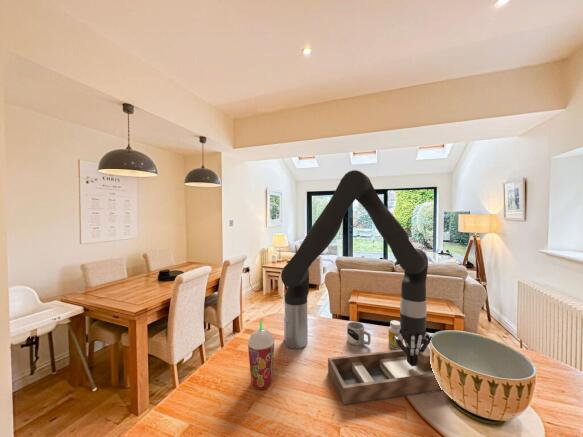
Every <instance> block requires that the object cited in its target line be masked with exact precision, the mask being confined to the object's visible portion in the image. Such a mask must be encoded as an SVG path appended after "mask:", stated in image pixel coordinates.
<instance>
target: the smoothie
mask: <svg viewBox="0 0 583 437" xmlns="http://www.w3.org/2000/svg"><path fill="white" fill-rule="evenodd" d="M275 340H276V339H275V337H274V336H273V334H272V333H271V331H269V330H268V329H266V328H263V321H262V320H260V321H259V328H257V329H255V330H254V331H253V332H252V333H251V334H250V337H249V339H248V340H247V349H248V361H249V373H250V381H251V384H252V385H253V387H254V388H255V389H256V388H257V390H265V389H267V388H269V387H270V386H271V384H272V382H273V378H274V361H275V360H274V357H275V356H274V355H275V353H274V352H275Z"/></svg>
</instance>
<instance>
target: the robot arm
mask: <svg viewBox="0 0 583 437" xmlns="http://www.w3.org/2000/svg"><path fill="white" fill-rule="evenodd" d="M355 201H357V202H358V203H359V205H361V206H362V208H364V210H365V211H366V213H367V214H368V216H369V217H370V219H371V221H372V223H373V225H374V227H375V228H376V230H377V231H378V233H379V234H380V236H381V237H382V239H383V240H384V241H385V243H386V244H387V245H388V247H389V248H390V250H391V253H392V255H393V256H394V258H395V261H396V262H397V264H398V265H399V267H400V268H401V269H402V270H403V271H404V273H403V274H404V275H403V276H404V277H403V279H402V282H401V286H400V287H401V289H400V290H401V292H400V294H401V295H400V302H399V322H400V325H401V329H400V331H399V333H400V334H399V335H398V336H397V337H396V336H393V339H394V341H395V342H396V343H397V345H398V346H399V347H400V348H401V350H402V351H404V352H405V353H406V354H407V362H408V363H409V364H410V365H411V366H416V364H417V363H418V354H419V353H420V352H421V353H423V352H424V351H425V349H426V348H427V346H428V347H429V345H430V343H431V342H430V340H431V338H432V339H433V336H431V335H430V334H429V333H427V330H426V329H427V310H428V309H427V301H426V300H427V299H426V298H427V286H426V283H427V282H426V281H427V278H428V277H427V276H428V271H429V270H428V269H429V259H428V256H427V253H425V251H424V250H422V249H420V248H415V246H414V245H413V243H412V242H411V241H410V236H409V233H407V231H406V230H405V228H404V227H403V226H402V225H401V223H400V222H399V221H398V220H397V218H396V217H395V216H394V215H393V213H392V212H391V211H390V210H389V208H388V207H387V206H386V205H385V204H384V202H383V200H381V198H380V196H379V195H378V193H377V192H376V190H375V188H374V186H373V184H372V181H371V180H370V178H369V177H368V175H366V174H365V173H364V172H362V171H361V170H358V169H352V170H349V171H347V172H346V173H345V174H344V175H342V178H341V179H340V181H339V183H338V185H337V186H336V189H335V191H334V193H333V194H332V196H331V198H330V200H329V202H328V203H327V204H326V205H325V207H324V209H323V210H322V211H321V213H320V214H319V216H318V217H317V219H316V220H315V221H314V223H313V224H312V226H311V227H310V229H309V231H308V233H307V234H306V236H305V237H304V239H303V241H302V243H301V244H300V245H299V248H298V249H297V251H296V252H295V254H294V255H293V256H292V257H291V258H290V260H289V261H288V262H287V263H286V264H285V266H283V268H282V270H281V274H280V279H281V282H282V284H283V285H284V286H285V287H286V288H287V290H286V292H285V293H284V317H283V332H284V333H283V334H284V336H283V338H284V344H285V348H291V349H296V350H297V349H303V348H305V347H307V345H308V344H309V339H308V338H309V335H308V334H309V333H308V330H309V329H308V328H309V327H308V324H309V323H308V296H309V291H310V272H309V268H310V267H311V265H312V264H313V263H314V262H315V261H316V260H317V258H319V257H320V255H321V254H323V253H324V252H325V250H326V249H327V248H328V247H329V246H330V245H331V243H332V242H333V240H334V239H335V238H336V236H337V234H338V233H339V231H340V228H341V226H342V223H343V220H344V218H345V215H346V213H347V211H348V210H349V208H350V207H351V206H352V205H353V203H354V202H355ZM402 338H403V340H402ZM431 341H432V340H431Z"/></svg>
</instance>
